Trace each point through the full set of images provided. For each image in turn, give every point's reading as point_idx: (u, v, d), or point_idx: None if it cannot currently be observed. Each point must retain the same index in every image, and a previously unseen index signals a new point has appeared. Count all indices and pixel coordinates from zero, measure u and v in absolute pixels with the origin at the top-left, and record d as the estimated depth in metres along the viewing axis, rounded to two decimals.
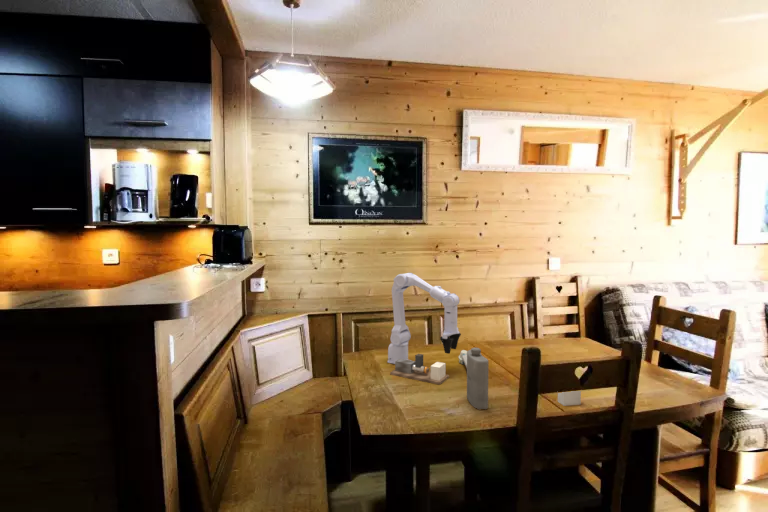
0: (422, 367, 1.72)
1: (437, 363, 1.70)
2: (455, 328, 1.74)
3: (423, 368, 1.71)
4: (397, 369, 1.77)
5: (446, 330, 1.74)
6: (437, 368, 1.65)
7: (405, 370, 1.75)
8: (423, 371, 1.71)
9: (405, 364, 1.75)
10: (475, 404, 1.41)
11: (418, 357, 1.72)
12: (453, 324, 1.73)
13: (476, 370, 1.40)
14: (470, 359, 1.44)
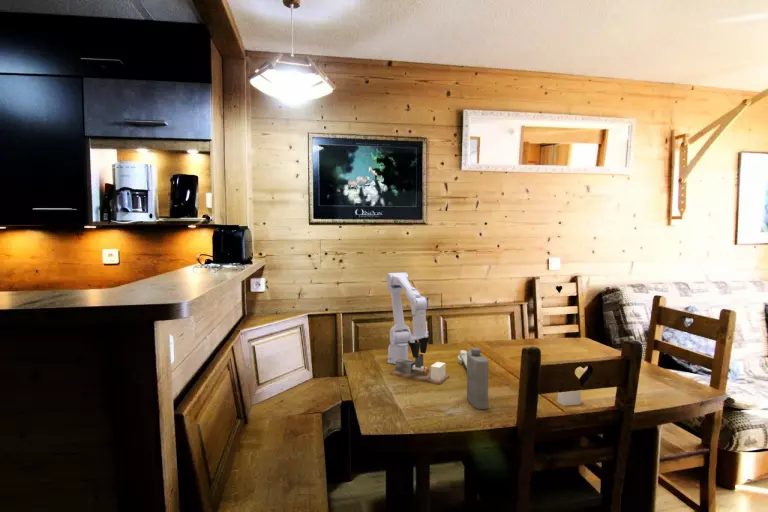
0: (422, 367, 1.72)
1: (437, 363, 1.70)
2: (423, 332, 1.70)
3: (423, 368, 1.71)
4: (397, 369, 1.77)
5: (414, 334, 1.71)
6: (437, 368, 1.65)
7: (405, 370, 1.75)
8: (423, 371, 1.71)
9: (405, 364, 1.75)
10: (475, 404, 1.41)
11: (418, 357, 1.72)
12: (421, 328, 1.70)
13: (476, 370, 1.40)
14: (470, 359, 1.44)
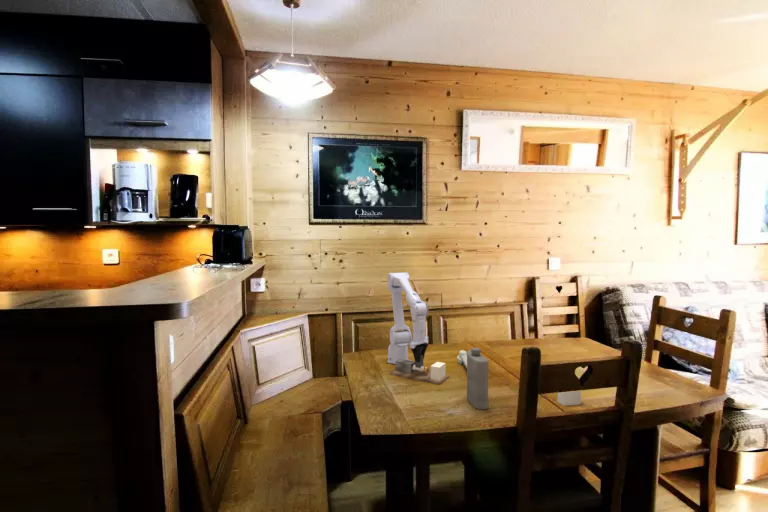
0: (422, 367, 1.72)
1: (437, 363, 1.70)
2: (423, 337, 1.71)
3: (423, 368, 1.71)
4: (397, 369, 1.77)
5: (414, 339, 1.71)
6: (437, 368, 1.65)
7: (405, 370, 1.75)
8: (423, 371, 1.71)
9: (405, 364, 1.75)
10: (475, 404, 1.41)
11: None
12: (421, 333, 1.70)
13: (476, 370, 1.40)
14: (470, 359, 1.44)
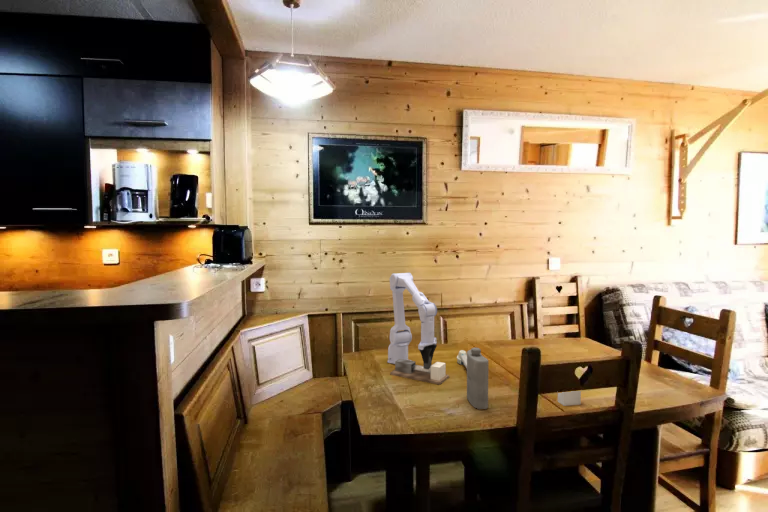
0: (430, 369, 1.70)
1: (437, 363, 1.70)
2: (432, 338, 1.68)
3: None
4: (397, 369, 1.77)
5: (423, 340, 1.69)
6: (437, 368, 1.65)
7: (405, 370, 1.75)
8: None
9: (405, 364, 1.75)
10: (475, 404, 1.41)
11: None
12: (430, 334, 1.68)
13: (476, 370, 1.40)
14: (470, 359, 1.44)
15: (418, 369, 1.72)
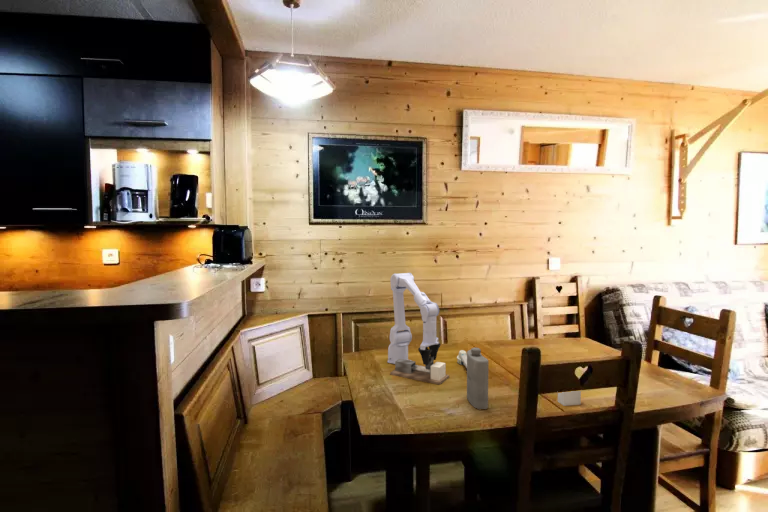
0: None
1: (437, 363, 1.70)
2: (434, 338, 1.68)
3: None
4: (397, 369, 1.77)
5: (425, 340, 1.68)
6: (437, 368, 1.65)
7: (405, 370, 1.75)
8: None
9: (405, 364, 1.75)
10: (475, 404, 1.41)
11: None
12: (432, 334, 1.67)
13: (476, 370, 1.40)
14: (470, 359, 1.44)
15: (420, 369, 1.72)
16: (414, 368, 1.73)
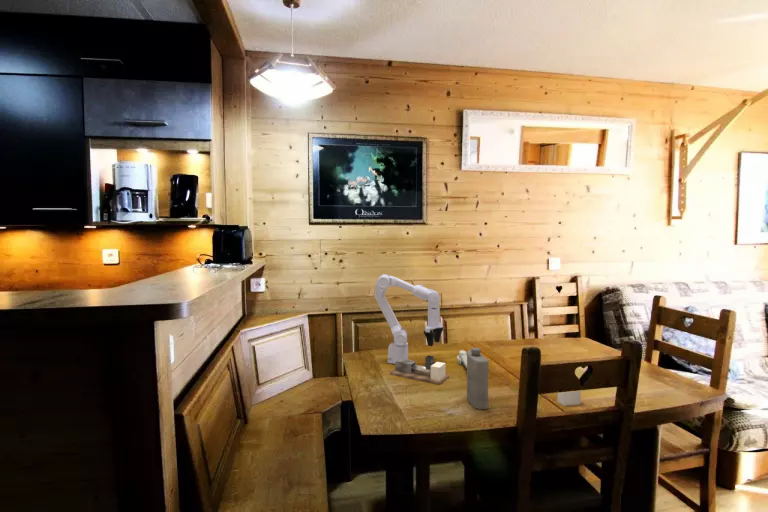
0: None
1: (437, 363, 1.70)
2: (437, 322, 1.88)
3: None
4: (397, 369, 1.77)
5: (429, 324, 1.88)
6: (437, 368, 1.65)
7: (405, 370, 1.75)
8: None
9: (405, 364, 1.75)
10: (475, 404, 1.41)
11: (428, 359, 1.69)
12: (435, 319, 1.87)
13: (476, 370, 1.40)
14: (470, 359, 1.44)
15: (420, 369, 1.72)
16: (414, 368, 1.73)
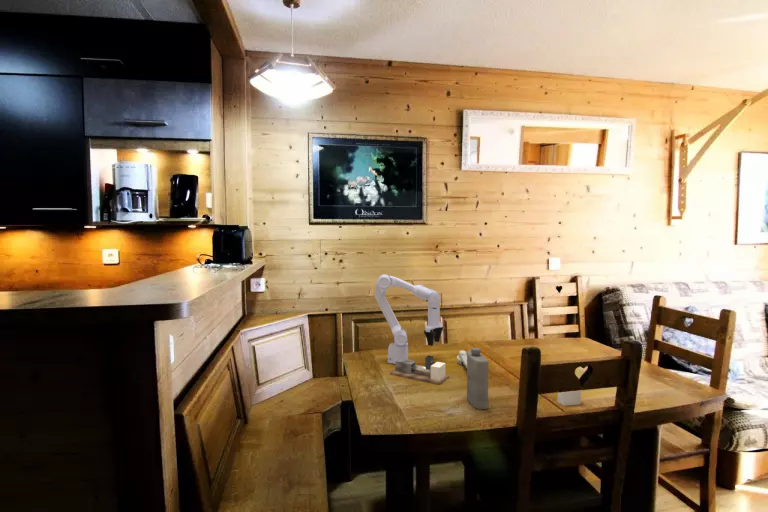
0: None
1: (437, 363, 1.70)
2: (437, 322, 1.89)
3: None
4: (397, 369, 1.77)
5: (429, 324, 1.89)
6: (437, 368, 1.65)
7: (405, 370, 1.75)
8: None
9: (405, 364, 1.75)
10: (475, 404, 1.41)
11: (428, 359, 1.69)
12: (436, 318, 1.88)
13: (476, 370, 1.40)
14: (470, 359, 1.44)
15: (420, 369, 1.72)
16: (414, 368, 1.73)
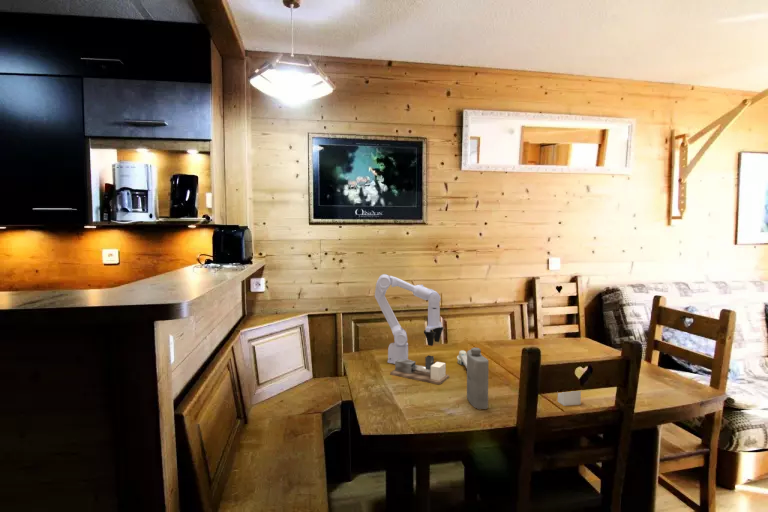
0: None
1: (437, 363, 1.70)
2: (437, 322, 1.89)
3: None
4: (397, 369, 1.77)
5: (429, 324, 1.89)
6: (437, 368, 1.65)
7: (405, 370, 1.75)
8: None
9: (405, 364, 1.75)
10: (475, 404, 1.41)
11: (428, 359, 1.69)
12: (436, 318, 1.88)
13: (476, 370, 1.40)
14: (470, 359, 1.44)
15: (420, 369, 1.72)
16: (414, 368, 1.73)
